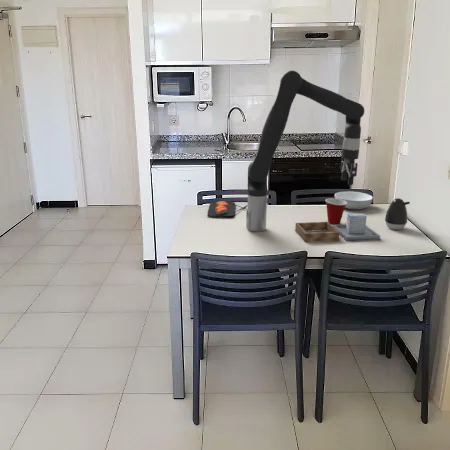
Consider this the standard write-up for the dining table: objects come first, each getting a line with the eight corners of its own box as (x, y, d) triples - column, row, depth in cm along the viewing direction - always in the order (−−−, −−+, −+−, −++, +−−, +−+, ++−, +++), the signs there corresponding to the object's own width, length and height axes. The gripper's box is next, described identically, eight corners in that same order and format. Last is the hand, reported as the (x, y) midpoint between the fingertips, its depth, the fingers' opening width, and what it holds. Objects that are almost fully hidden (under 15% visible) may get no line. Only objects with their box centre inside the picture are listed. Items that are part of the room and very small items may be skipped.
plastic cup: (345, 227, 228) (348, 204, 225) (323, 226, 230) (325, 202, 227) (345, 221, 239) (347, 198, 235) (323, 219, 241) (325, 197, 237)
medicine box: (361, 230, 221) (363, 213, 218) (365, 233, 217) (366, 216, 214) (345, 231, 221) (347, 213, 218) (348, 234, 216) (350, 216, 214)
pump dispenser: (402, 233, 221) (406, 202, 216) (381, 228, 227) (384, 198, 222) (409, 227, 228) (413, 198, 224) (388, 223, 234) (391, 194, 230)
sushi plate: (210, 204, 270) (210, 198, 269) (262, 205, 269) (262, 198, 268) (206, 219, 242) (206, 212, 241) (264, 219, 241) (264, 212, 240)
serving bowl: (358, 214, 250) (359, 202, 248) (326, 206, 264) (327, 195, 262) (378, 207, 263) (380, 196, 261) (347, 200, 278) (348, 189, 276)
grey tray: (346, 241, 209) (346, 237, 209) (332, 228, 226) (332, 224, 226) (379, 239, 211) (380, 235, 211) (363, 227, 228) (364, 223, 228)
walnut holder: (304, 242, 208) (305, 233, 207) (295, 230, 223) (295, 222, 222) (339, 240, 210) (339, 232, 209) (327, 229, 225) (327, 221, 224)
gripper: (337, 145, 217) (334, 179, 222) (348, 150, 204) (344, 186, 209) (353, 145, 218) (349, 179, 223) (364, 150, 205) (360, 186, 210)
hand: (346, 182), depth 216 cm, fingers open, 8 cm apart
